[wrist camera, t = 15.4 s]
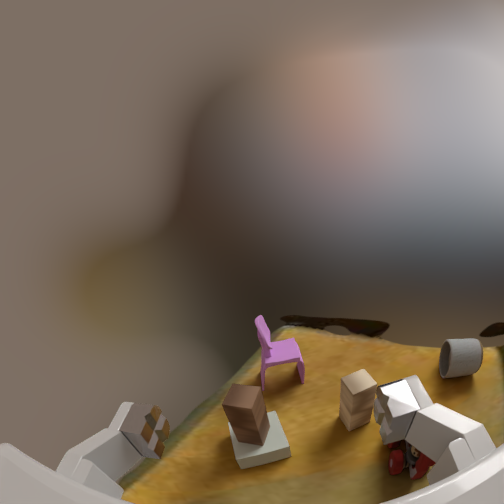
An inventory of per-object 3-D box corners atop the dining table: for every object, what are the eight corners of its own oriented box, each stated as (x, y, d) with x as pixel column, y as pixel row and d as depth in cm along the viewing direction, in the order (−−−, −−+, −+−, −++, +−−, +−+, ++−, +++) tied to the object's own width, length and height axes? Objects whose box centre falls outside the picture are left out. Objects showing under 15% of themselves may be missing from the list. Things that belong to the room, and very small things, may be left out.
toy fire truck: (388, 488, 22) (407, 459, 19) (384, 426, 33) (395, 387, 30) (433, 478, 20) (459, 445, 17) (422, 419, 31) (438, 378, 28)
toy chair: (307, 386, 47) (301, 325, 43) (262, 394, 47) (248, 335, 43) (299, 361, 55) (293, 302, 51) (260, 368, 55) (247, 310, 51)
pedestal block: (277, 423, 40) (275, 410, 39) (291, 457, 32) (289, 446, 31) (233, 434, 39) (228, 422, 38) (241, 470, 31) (236, 459, 30)
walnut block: (270, 426, 36) (260, 386, 33) (263, 445, 32) (251, 408, 29) (246, 423, 37) (232, 383, 34) (238, 441, 33) (221, 404, 30)
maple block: (359, 407, 39) (363, 368, 36) (369, 421, 35) (377, 383, 32) (339, 415, 38) (341, 378, 35) (348, 431, 34) (353, 394, 31)
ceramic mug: (477, 380, 32) (489, 350, 30) (442, 386, 36) (452, 356, 34) (465, 349, 42) (472, 319, 40) (434, 352, 45) (440, 323, 43)
